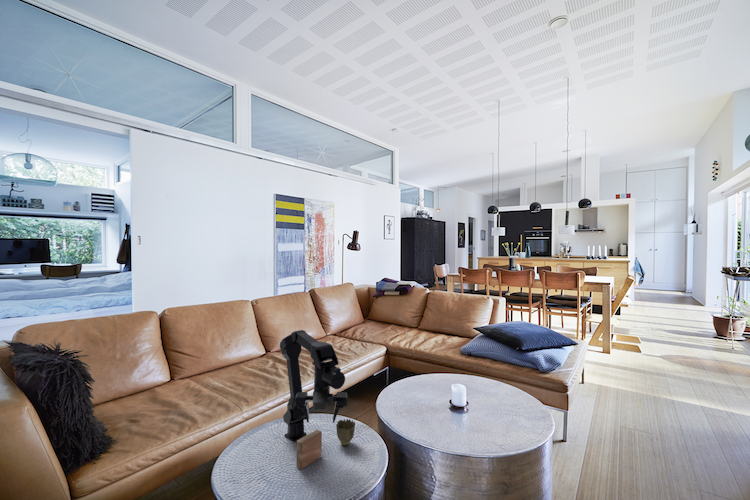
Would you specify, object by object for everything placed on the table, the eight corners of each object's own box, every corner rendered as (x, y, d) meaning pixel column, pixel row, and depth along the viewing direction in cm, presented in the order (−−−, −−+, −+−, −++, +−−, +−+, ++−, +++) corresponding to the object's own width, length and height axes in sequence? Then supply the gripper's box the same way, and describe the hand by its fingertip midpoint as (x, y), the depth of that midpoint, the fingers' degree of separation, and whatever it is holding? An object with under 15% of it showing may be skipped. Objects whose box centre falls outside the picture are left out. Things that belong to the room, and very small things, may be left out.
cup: (351, 450, 124) (352, 429, 124) (333, 448, 125) (333, 427, 126) (356, 440, 131) (357, 419, 131) (339, 437, 133) (339, 417, 133)
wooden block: (296, 466, 114) (296, 440, 114) (316, 453, 122) (316, 429, 122) (301, 469, 113) (301, 443, 113) (321, 456, 120) (321, 431, 120)
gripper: (292, 389, 111) (290, 435, 111) (347, 389, 112) (346, 434, 112) (297, 376, 122) (296, 418, 122) (347, 376, 124) (346, 417, 124)
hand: (320, 422), depth 120 cm, fingers open, 9 cm apart
